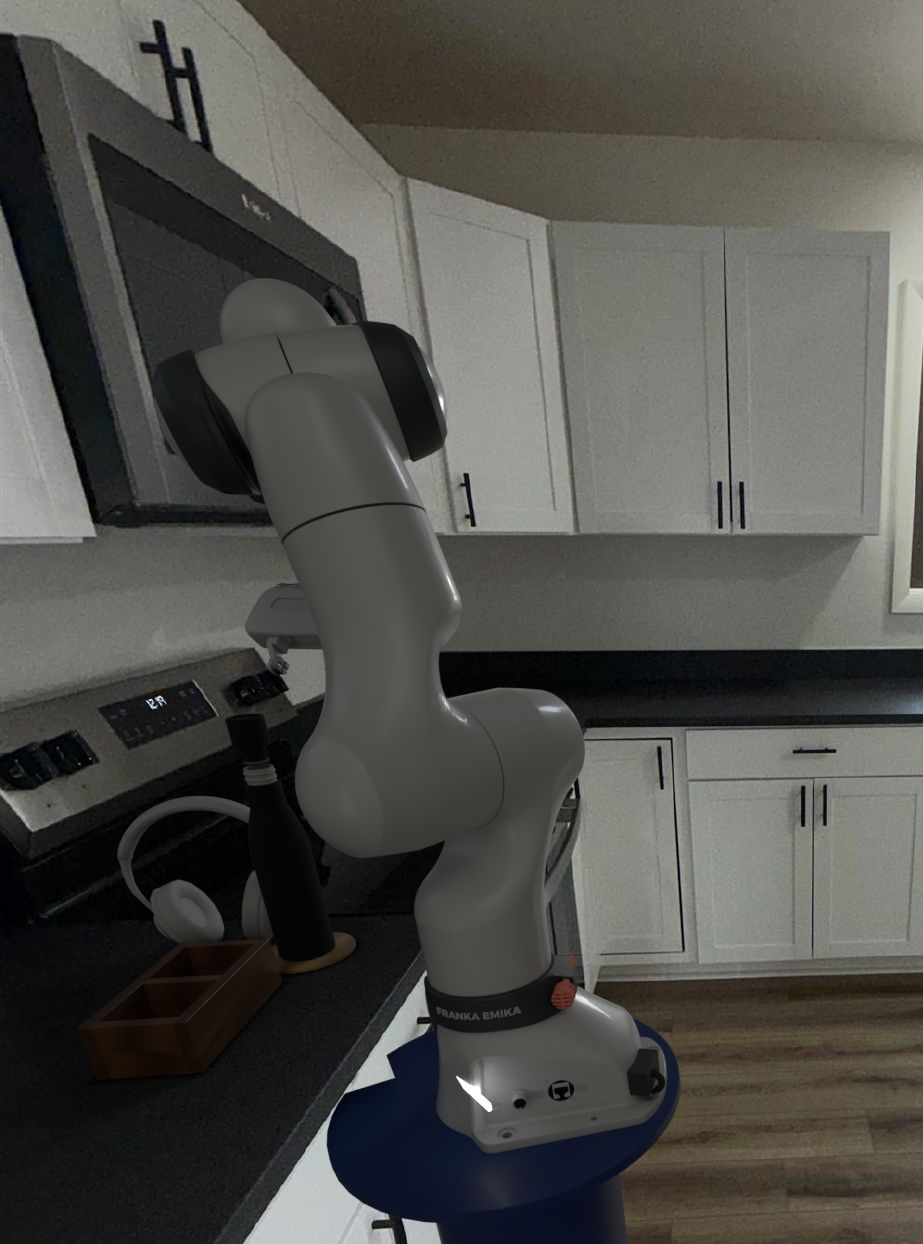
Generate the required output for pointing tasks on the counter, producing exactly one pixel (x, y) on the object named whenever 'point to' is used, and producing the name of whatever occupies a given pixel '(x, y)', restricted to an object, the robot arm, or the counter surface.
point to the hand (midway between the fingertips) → (309, 672)
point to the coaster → (341, 950)
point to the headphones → (183, 904)
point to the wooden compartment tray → (181, 1010)
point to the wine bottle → (280, 851)
